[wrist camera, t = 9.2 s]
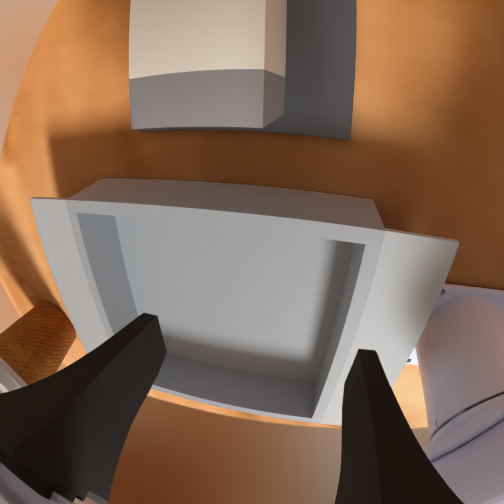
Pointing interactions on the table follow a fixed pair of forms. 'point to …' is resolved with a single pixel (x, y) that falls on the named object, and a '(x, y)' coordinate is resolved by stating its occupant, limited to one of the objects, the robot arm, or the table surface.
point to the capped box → (206, 63)
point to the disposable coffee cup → (34, 346)
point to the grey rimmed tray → (245, 286)
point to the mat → (314, 71)
